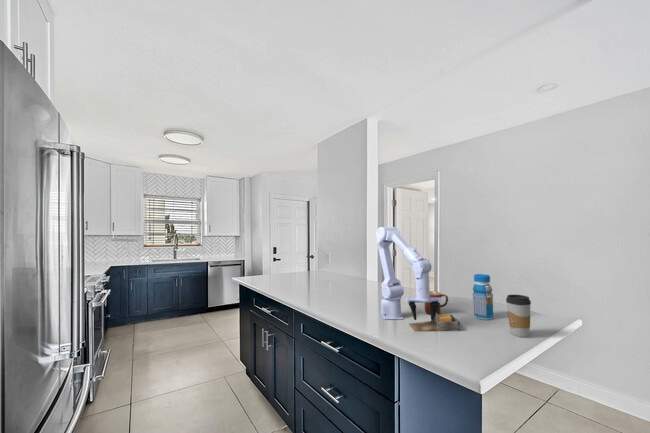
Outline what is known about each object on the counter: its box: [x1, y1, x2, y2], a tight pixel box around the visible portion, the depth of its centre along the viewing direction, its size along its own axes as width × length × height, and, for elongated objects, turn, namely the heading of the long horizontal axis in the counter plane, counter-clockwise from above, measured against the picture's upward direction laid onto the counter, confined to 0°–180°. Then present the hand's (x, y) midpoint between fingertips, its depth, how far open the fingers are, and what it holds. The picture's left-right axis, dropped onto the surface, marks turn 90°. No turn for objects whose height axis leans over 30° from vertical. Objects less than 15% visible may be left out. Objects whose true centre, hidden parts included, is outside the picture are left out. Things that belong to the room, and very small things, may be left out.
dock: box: [408, 314, 461, 333], centre depth 128 cm, size 19×10×5 cm, turn 87°
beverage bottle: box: [472, 273, 495, 321], centre depth 140 cm, size 8×8×20 cm
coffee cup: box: [505, 294, 532, 339], centre depth 117 cm, size 8×8×15 cm
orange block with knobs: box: [434, 313, 452, 325], centre depth 128 cm, size 6×6×5 cm
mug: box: [424, 290, 449, 316], centre depth 148 cm, size 12×9×10 cm
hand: (423, 319), depth 128 cm, fingers open, 7 cm apart
